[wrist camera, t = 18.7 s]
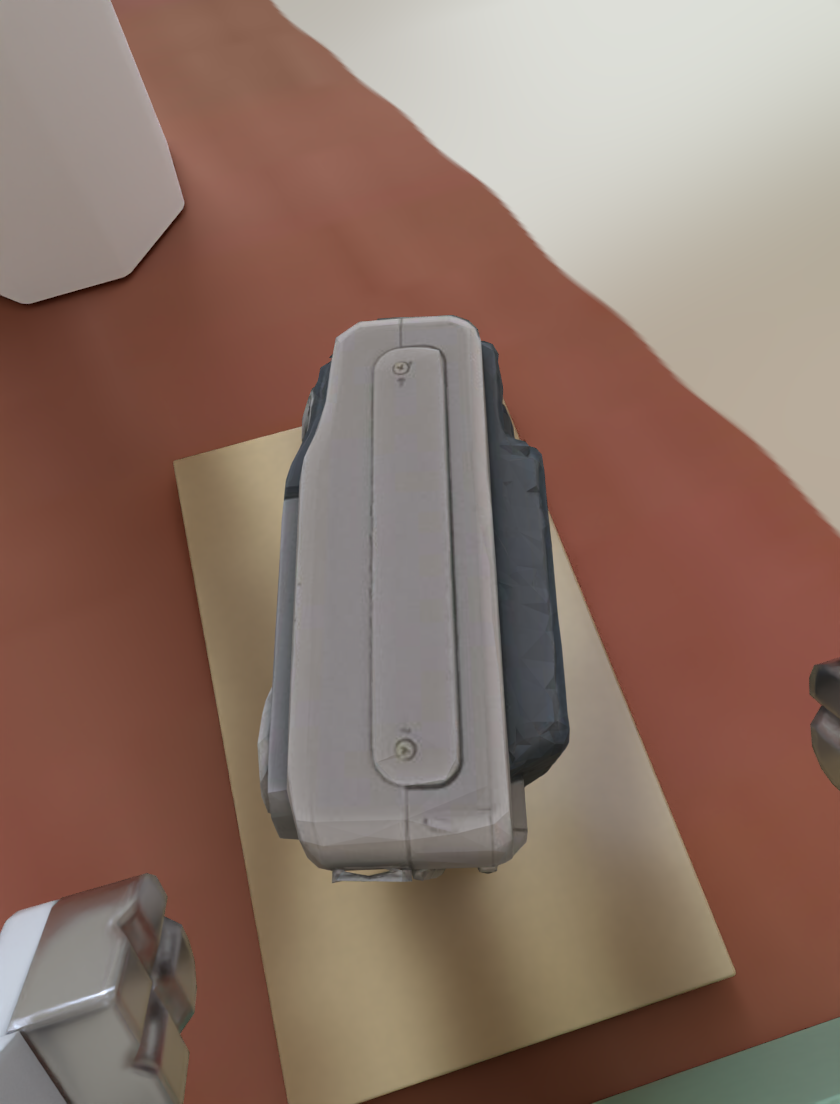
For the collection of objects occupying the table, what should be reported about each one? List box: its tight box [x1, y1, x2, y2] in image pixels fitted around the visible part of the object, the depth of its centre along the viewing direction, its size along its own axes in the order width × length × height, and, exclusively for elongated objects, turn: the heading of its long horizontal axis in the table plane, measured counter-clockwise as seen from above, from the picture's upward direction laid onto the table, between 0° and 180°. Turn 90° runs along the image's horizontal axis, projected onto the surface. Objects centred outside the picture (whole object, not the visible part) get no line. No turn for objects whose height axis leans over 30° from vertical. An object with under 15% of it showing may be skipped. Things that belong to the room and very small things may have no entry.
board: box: [173, 399, 736, 1104], centre depth 23 cm, size 12×20×1 cm, turn 16°
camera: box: [257, 315, 570, 883], centre depth 18 cm, size 11×6×10 cm, turn 179°
